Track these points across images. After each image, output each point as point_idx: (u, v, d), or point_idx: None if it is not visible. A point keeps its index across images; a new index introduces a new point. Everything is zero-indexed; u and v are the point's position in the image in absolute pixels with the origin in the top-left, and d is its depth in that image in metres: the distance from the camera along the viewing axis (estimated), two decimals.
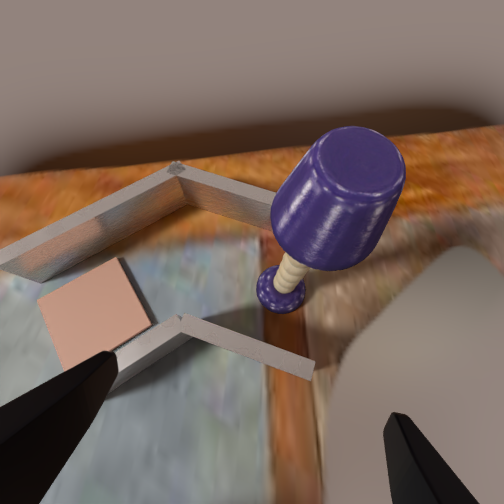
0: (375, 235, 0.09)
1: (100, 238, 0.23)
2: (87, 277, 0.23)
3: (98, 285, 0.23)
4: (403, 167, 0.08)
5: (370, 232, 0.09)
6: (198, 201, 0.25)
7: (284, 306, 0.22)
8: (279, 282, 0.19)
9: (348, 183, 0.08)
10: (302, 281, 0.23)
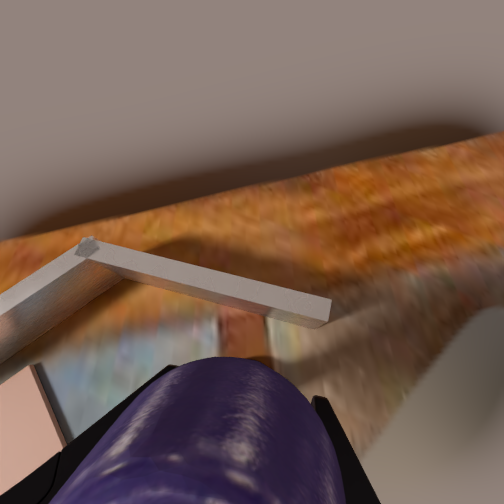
0: None
1: (1, 346, 0.17)
2: None
3: (3, 409, 0.17)
4: None
5: None
6: (132, 278, 0.19)
7: None
8: None
9: None
10: None
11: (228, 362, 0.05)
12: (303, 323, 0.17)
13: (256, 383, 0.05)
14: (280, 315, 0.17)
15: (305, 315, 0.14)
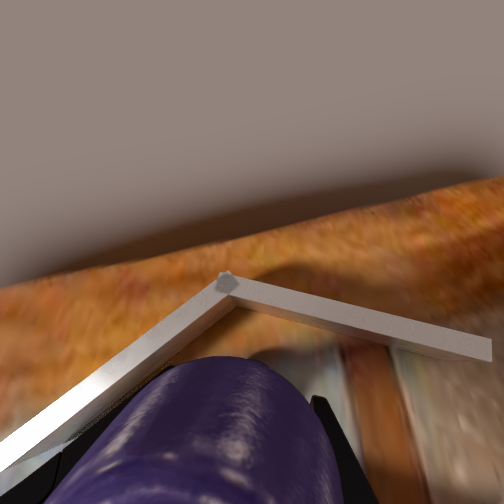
0: None
1: (133, 381, 0.17)
2: None
3: None
4: None
5: None
6: (253, 308, 0.19)
7: None
8: None
9: None
10: None
11: (226, 361, 0.05)
12: (438, 356, 0.17)
13: (253, 383, 0.05)
14: (419, 349, 0.17)
15: (466, 355, 0.14)
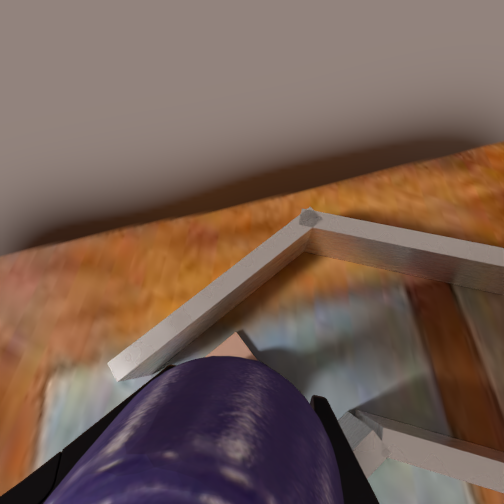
0: None
1: (219, 313, 0.19)
2: None
3: None
4: None
5: None
6: (323, 249, 0.20)
7: None
8: None
9: None
10: None
11: (226, 361, 0.05)
12: (503, 287, 0.19)
13: (253, 381, 0.05)
14: (488, 279, 0.18)
15: None
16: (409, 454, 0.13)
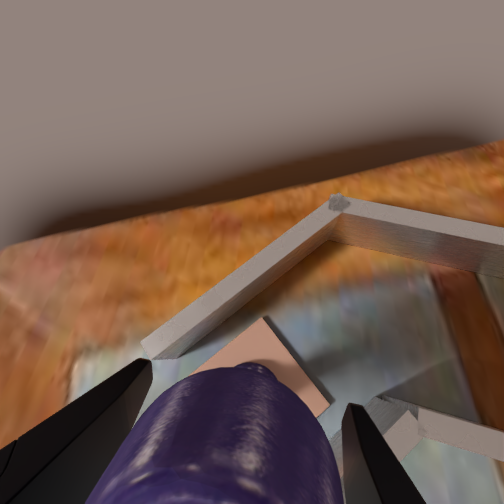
0: None
1: (246, 298, 0.19)
2: (233, 347, 0.19)
3: (249, 356, 0.19)
4: None
5: None
6: (349, 237, 0.20)
7: None
8: None
9: None
10: None
11: (233, 373, 0.06)
12: None
13: (260, 394, 0.05)
14: None
15: None
16: (446, 434, 0.13)
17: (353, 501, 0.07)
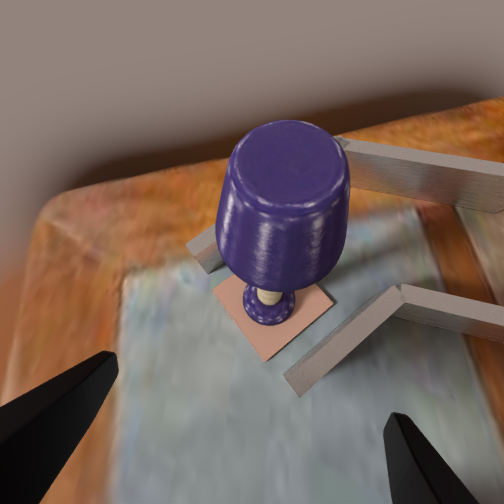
0: (328, 249, 0.08)
1: None
2: None
3: None
4: (344, 164, 0.06)
5: (319, 247, 0.07)
6: None
7: (273, 318, 0.20)
8: (260, 295, 0.18)
9: (272, 194, 0.06)
10: None
11: None
12: (496, 203, 0.23)
13: None
14: (484, 194, 0.22)
15: None
16: (421, 300, 0.17)
17: None
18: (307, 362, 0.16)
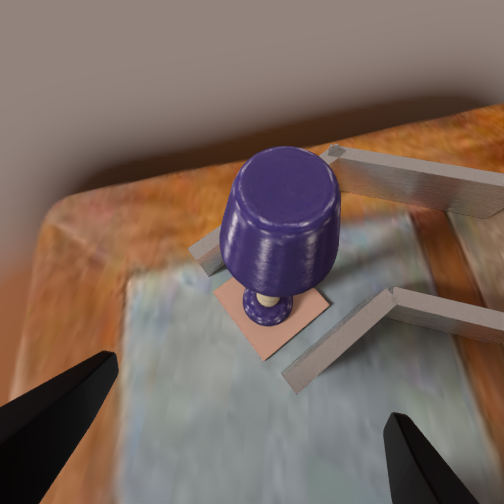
0: (322, 259, 0.09)
1: None
2: None
3: None
4: (335, 188, 0.07)
5: (313, 259, 0.08)
6: (344, 183, 0.26)
7: (271, 319, 0.21)
8: (260, 297, 0.19)
9: (271, 214, 0.07)
10: None
11: None
12: (486, 209, 0.24)
13: None
14: (474, 200, 0.23)
15: None
16: (412, 302, 0.18)
17: None
18: (304, 361, 0.17)
